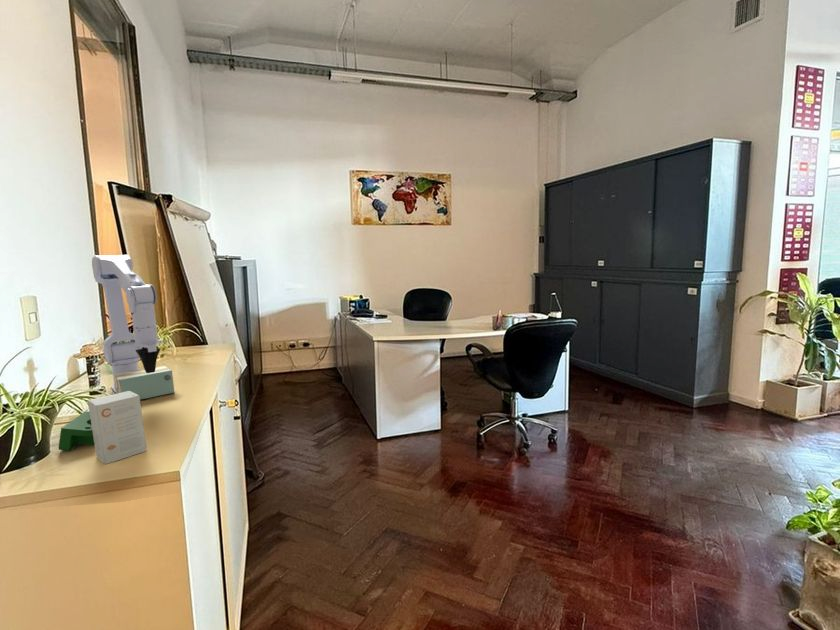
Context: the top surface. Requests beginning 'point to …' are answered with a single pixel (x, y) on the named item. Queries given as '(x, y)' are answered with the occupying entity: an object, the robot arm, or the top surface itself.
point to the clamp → (76, 432)
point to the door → (149, 384)
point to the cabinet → (133, 373)
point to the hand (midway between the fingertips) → (150, 372)
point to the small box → (117, 426)
